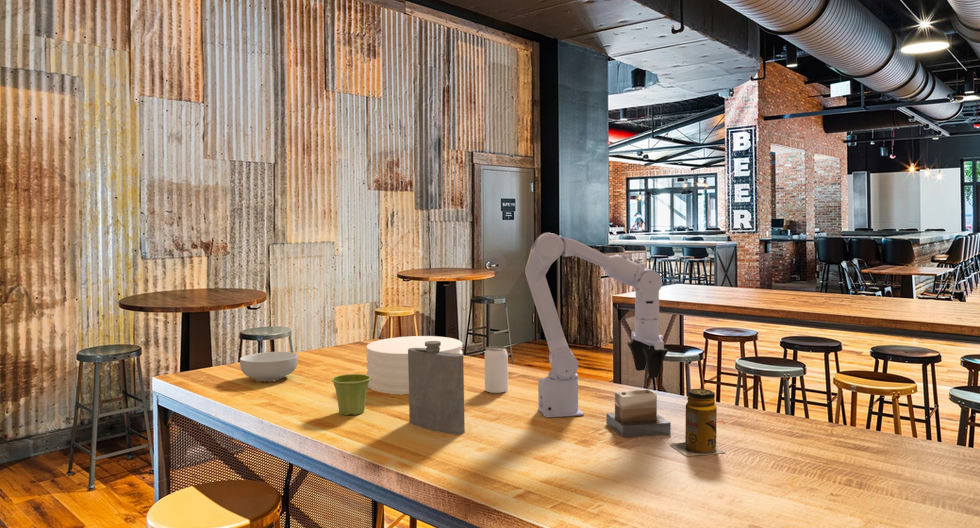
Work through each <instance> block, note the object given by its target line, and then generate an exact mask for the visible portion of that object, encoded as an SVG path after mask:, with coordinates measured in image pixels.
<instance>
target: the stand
mask: <svg viewBox="0 0 980 528" xmlns="http://www.w3.org/2000/svg"><path fill="white" fill-rule="evenodd" d="M605 417H606V425H607V426H608V427H610V428H611V429H612V430H614V432H615V433H616V434H618V435H619V436H620V437H622V438H635V437H637V438H638V437H647V436H649V437H650V436H661V435H671V430H672V429H671V427H672V426H671V424H672V423H671V422H670V421H669V420H667V419H665V418H664V417H663V416H661V415H660V414H658V413H657V420H646V421H632V422H622V421H620V420H619V419H618V418H617V417H615V412H606V416H605Z"/></svg>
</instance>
